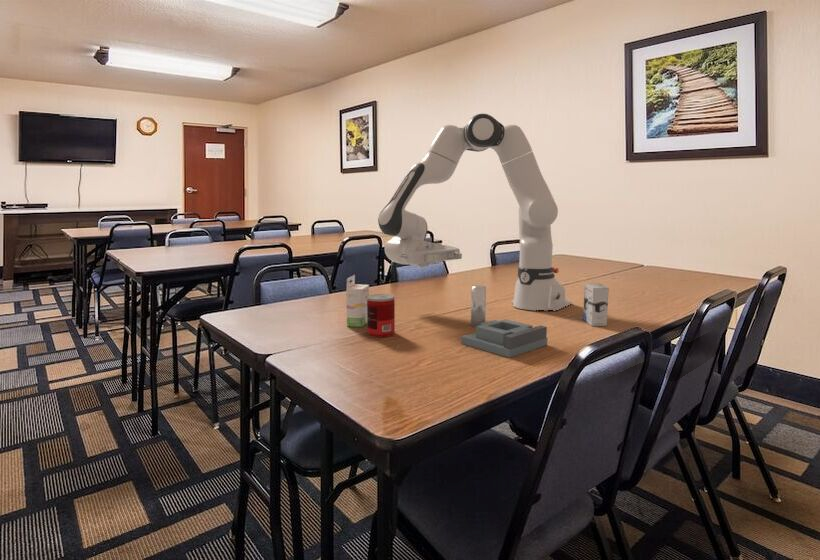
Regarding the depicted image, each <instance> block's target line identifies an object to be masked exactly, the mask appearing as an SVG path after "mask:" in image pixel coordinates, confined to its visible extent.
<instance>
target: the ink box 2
mask: <svg viewBox="0 0 820 560" xmlns="http://www.w3.org/2000/svg"><path fill="white" fill-rule="evenodd" d="M609 290H610V289H609V287H608V286H606V285H604V284H602V283H600V282H599V283H598V282H596V283H594V282H593V283H584V291H583V292H584V293H583V308H582V309H583V310H582V311H583V312H582V320H583V321H584V322H586V323H587V324H588V325H590V326H591V327H607V325H608V309H609V308H608V305H609Z"/></svg>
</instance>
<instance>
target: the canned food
mask: <svg viewBox="0 0 820 560" xmlns="http://www.w3.org/2000/svg"><path fill="white" fill-rule="evenodd" d="M395 315H396V314H395V295H393V294H391V293H390V294H389V293H376V294H375V293H374V294H369V296H368V297H367V333H368V335H369V336H370V337H373V338H388V337H392V336H394V334H395V332H396V331H395V327H396V324H395V323H396V322H395V319H396V318H395Z"/></svg>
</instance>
